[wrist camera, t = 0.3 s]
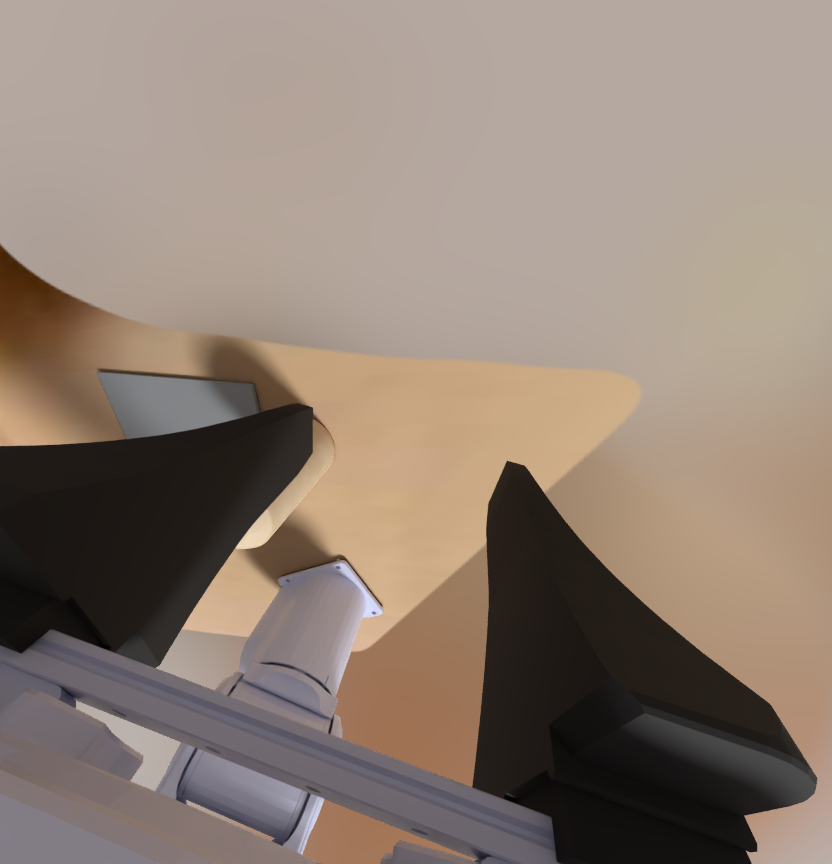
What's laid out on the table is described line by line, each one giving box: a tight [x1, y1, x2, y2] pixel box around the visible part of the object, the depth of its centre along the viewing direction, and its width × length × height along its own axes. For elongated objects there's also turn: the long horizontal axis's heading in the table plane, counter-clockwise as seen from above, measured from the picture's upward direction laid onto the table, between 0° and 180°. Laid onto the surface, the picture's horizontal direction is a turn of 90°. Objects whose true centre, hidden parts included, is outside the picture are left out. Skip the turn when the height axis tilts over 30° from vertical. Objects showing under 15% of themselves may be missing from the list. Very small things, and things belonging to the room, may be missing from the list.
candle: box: [235, 419, 335, 549], centre depth 20 cm, size 6×6×10 cm
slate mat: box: [96, 371, 260, 439], centre depth 26 cm, size 14×11×1 cm
